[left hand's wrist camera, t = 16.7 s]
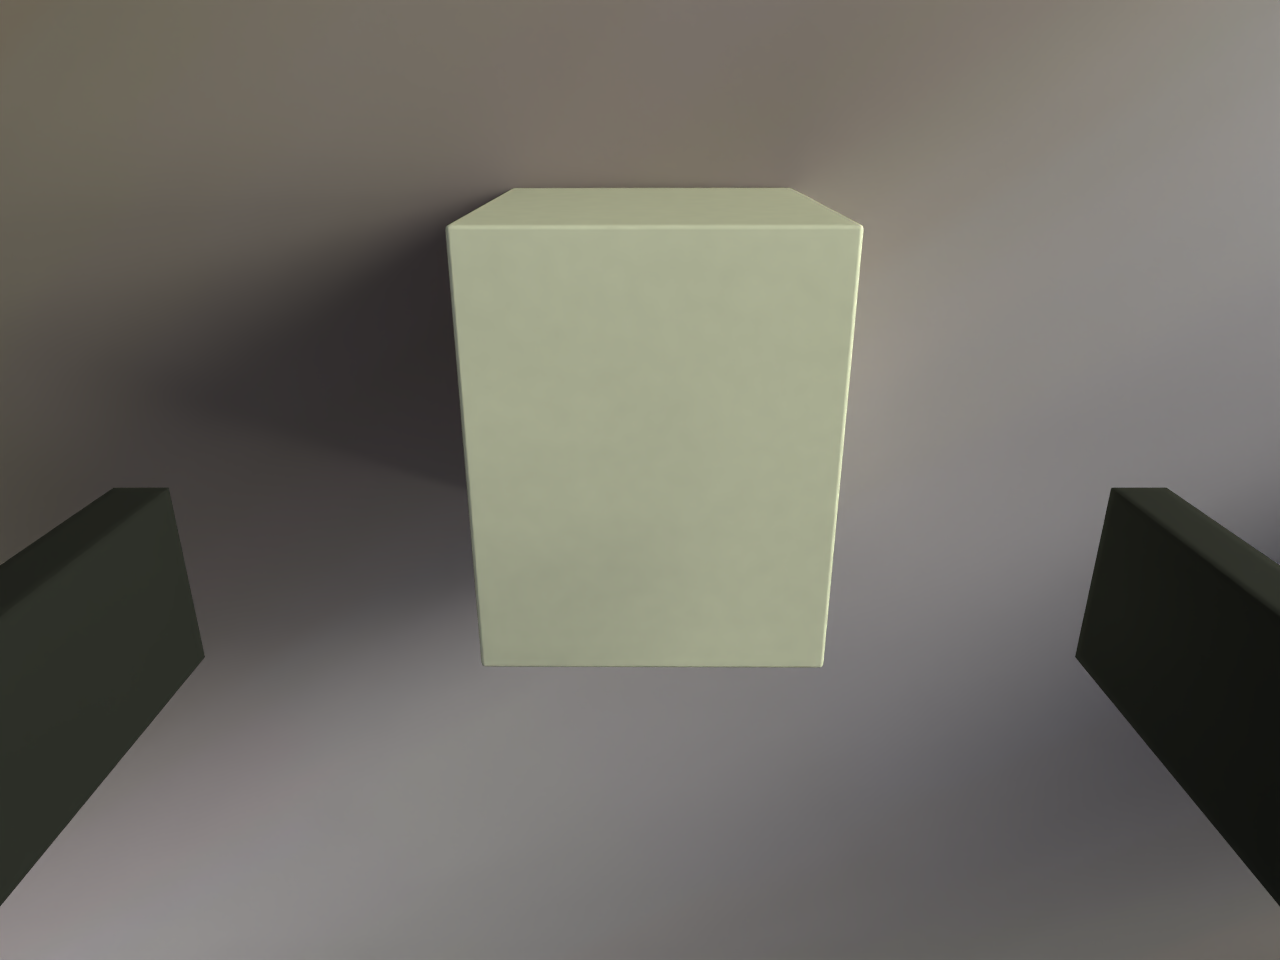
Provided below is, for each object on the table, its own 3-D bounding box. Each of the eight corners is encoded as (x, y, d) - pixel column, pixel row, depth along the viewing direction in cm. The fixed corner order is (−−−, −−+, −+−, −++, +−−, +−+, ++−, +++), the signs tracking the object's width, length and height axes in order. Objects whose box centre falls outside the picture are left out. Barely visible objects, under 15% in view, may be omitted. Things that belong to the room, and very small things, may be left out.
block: (792, 187, 21) (865, 224, 14) (773, 509, 24) (823, 669, 17) (510, 187, 21) (443, 225, 14) (528, 508, 24) (480, 668, 17)
